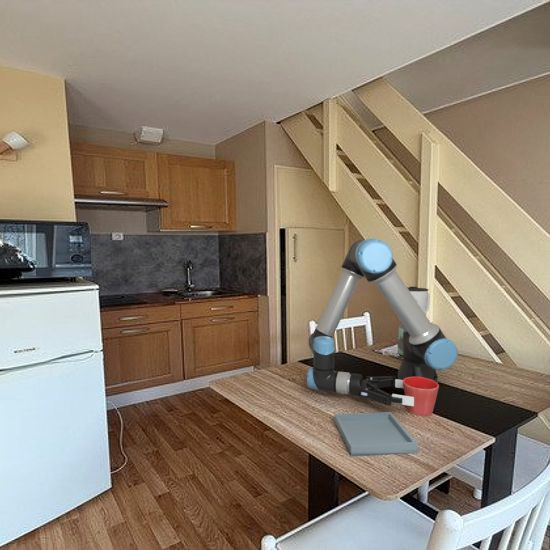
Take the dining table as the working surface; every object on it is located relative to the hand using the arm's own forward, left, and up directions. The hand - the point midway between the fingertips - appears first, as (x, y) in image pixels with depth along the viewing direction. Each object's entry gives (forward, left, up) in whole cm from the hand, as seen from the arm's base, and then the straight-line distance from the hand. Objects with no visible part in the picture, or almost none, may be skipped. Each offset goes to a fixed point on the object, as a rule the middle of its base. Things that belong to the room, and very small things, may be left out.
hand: (414, 393), depth 115 cm
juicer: (-26, -55, -6) cm, 61 cm away
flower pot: (-2, 0, -6) cm, 6 cm away
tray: (+19, +14, -6) cm, 25 cm away
